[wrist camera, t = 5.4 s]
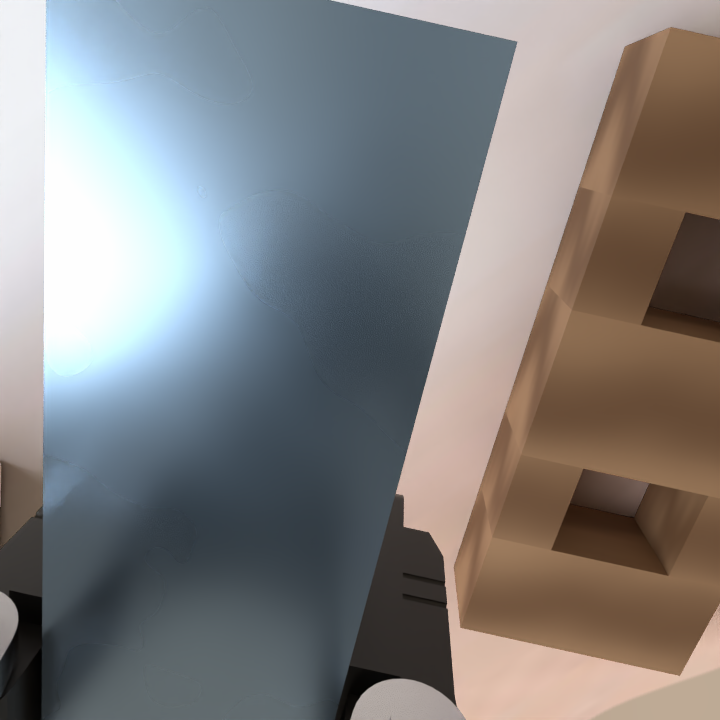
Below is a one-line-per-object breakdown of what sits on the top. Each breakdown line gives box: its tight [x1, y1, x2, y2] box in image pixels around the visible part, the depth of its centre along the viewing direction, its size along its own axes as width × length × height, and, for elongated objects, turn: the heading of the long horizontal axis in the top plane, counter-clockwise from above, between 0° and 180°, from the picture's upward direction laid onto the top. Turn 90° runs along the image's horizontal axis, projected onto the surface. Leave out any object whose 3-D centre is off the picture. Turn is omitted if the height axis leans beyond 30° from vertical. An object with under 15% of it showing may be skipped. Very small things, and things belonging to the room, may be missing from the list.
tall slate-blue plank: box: [42, 0, 517, 720], centre depth 10 cm, size 14×3×8 cm, turn 168°
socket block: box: [454, 27, 720, 676], centre depth 24 cm, size 24×10×4 cm, turn 168°
